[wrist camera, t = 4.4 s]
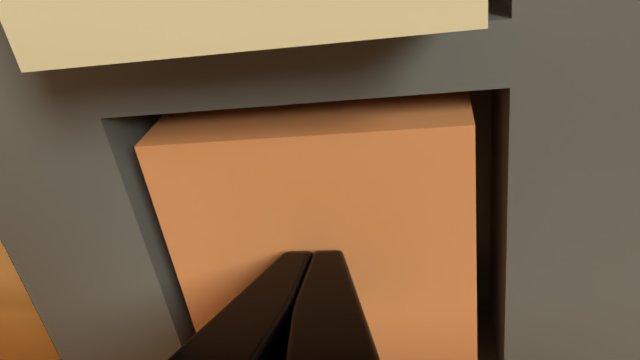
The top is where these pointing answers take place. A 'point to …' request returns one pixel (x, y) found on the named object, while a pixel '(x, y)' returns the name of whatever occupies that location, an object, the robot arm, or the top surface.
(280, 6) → the sand key
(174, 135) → the terracotta key
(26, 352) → the top surface
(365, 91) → the button panel
